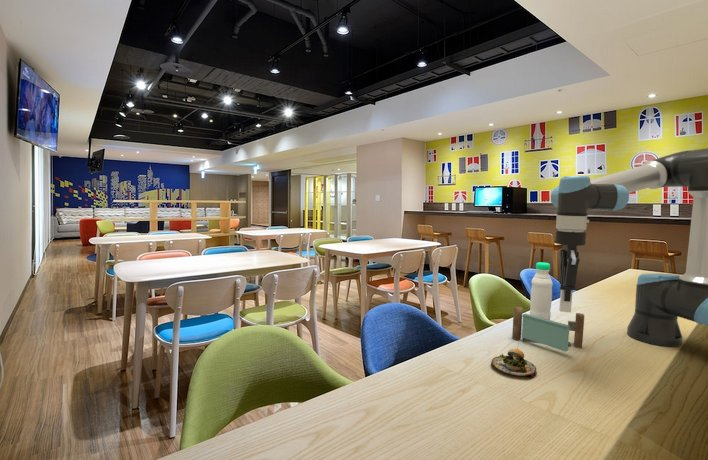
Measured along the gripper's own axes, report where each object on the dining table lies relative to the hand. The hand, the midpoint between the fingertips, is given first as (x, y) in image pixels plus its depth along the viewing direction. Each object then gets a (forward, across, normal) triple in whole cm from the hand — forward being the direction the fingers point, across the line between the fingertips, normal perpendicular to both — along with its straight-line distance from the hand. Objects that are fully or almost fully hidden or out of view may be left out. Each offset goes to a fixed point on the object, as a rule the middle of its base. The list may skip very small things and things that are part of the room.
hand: (565, 311), depth 107 cm
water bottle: (+16, +31, +2) cm, 35 cm away
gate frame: (+16, +18, +2) cm, 24 cm away
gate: (+15, +12, +3) cm, 19 cm away
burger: (+17, -8, +14) cm, 23 cm away
